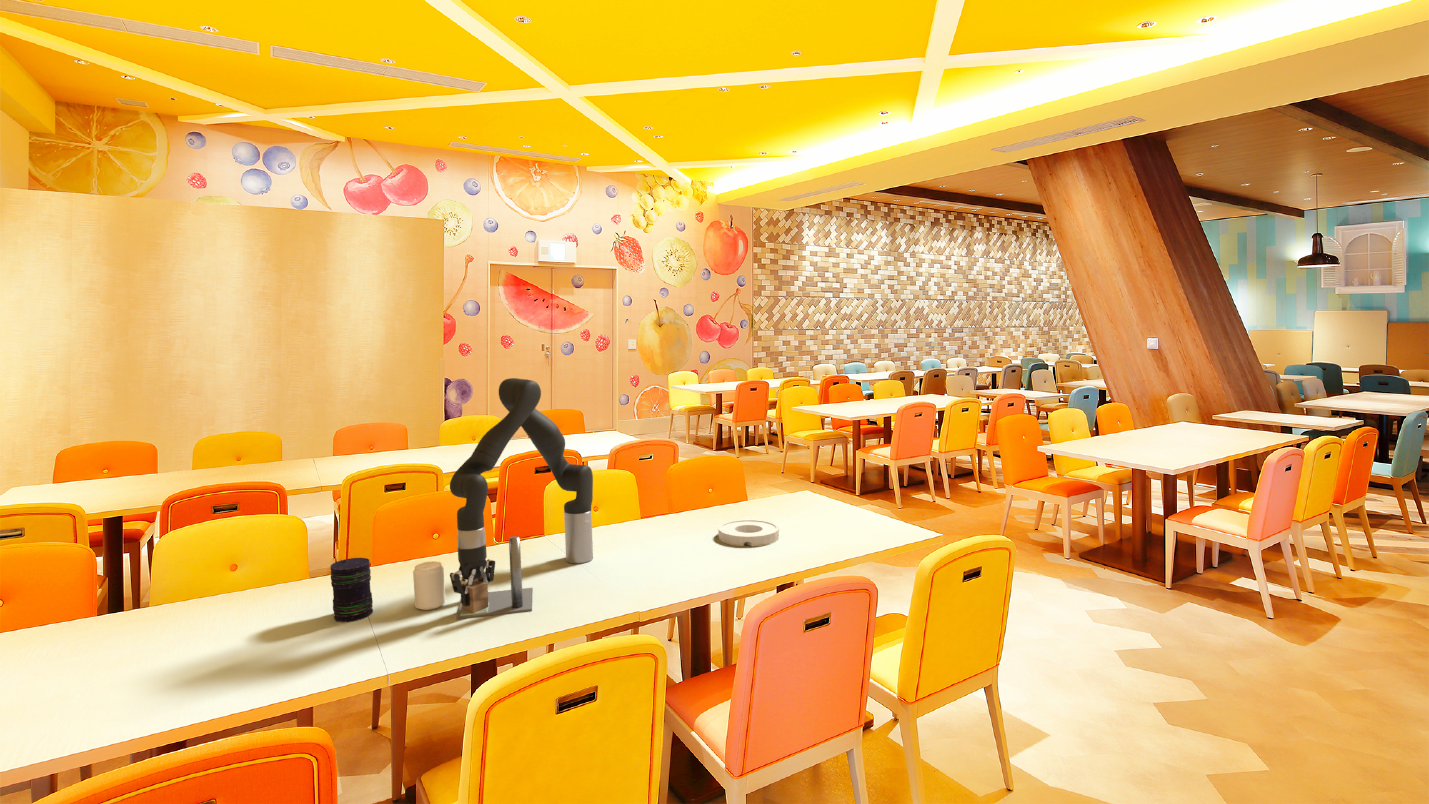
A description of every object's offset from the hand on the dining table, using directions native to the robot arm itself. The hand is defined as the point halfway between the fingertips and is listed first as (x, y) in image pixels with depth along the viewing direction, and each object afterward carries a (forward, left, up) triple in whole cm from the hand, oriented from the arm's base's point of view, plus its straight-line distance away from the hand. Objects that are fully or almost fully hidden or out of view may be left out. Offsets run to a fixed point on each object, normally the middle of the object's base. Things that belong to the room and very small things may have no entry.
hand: (474, 601), depth 191 cm
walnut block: (0, 0, -2) cm, 2 cm away
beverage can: (-8, -13, -3) cm, 16 cm away
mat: (-4, +5, -3) cm, 8 cm away
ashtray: (-45, +95, -3) cm, 105 cm away
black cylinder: (-7, -33, -3) cm, 34 cm away
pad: (0, 0, -2) cm, 2 cm away
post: (+1, +11, -2) cm, 12 cm away
